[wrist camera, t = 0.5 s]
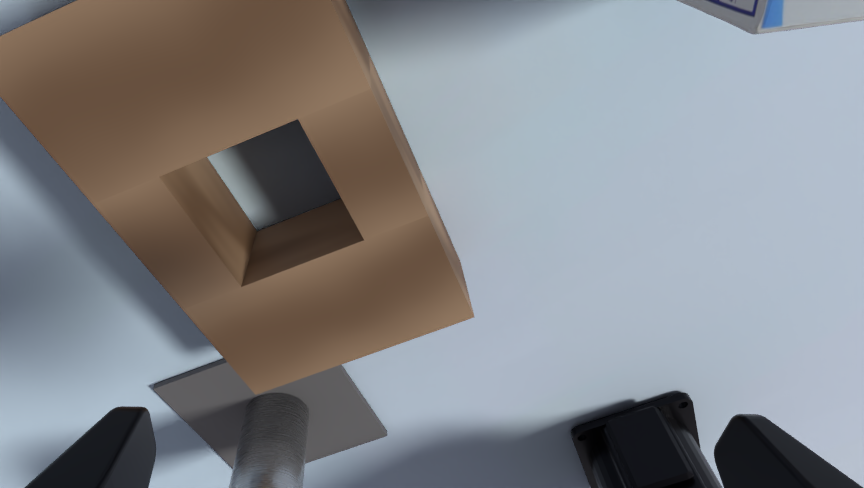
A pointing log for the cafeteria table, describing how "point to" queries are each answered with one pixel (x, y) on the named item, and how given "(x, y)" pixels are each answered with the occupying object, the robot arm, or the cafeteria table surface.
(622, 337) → the cafeteria table surface
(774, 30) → the medicine box
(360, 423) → the mat
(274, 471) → the pin
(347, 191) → the socket block
